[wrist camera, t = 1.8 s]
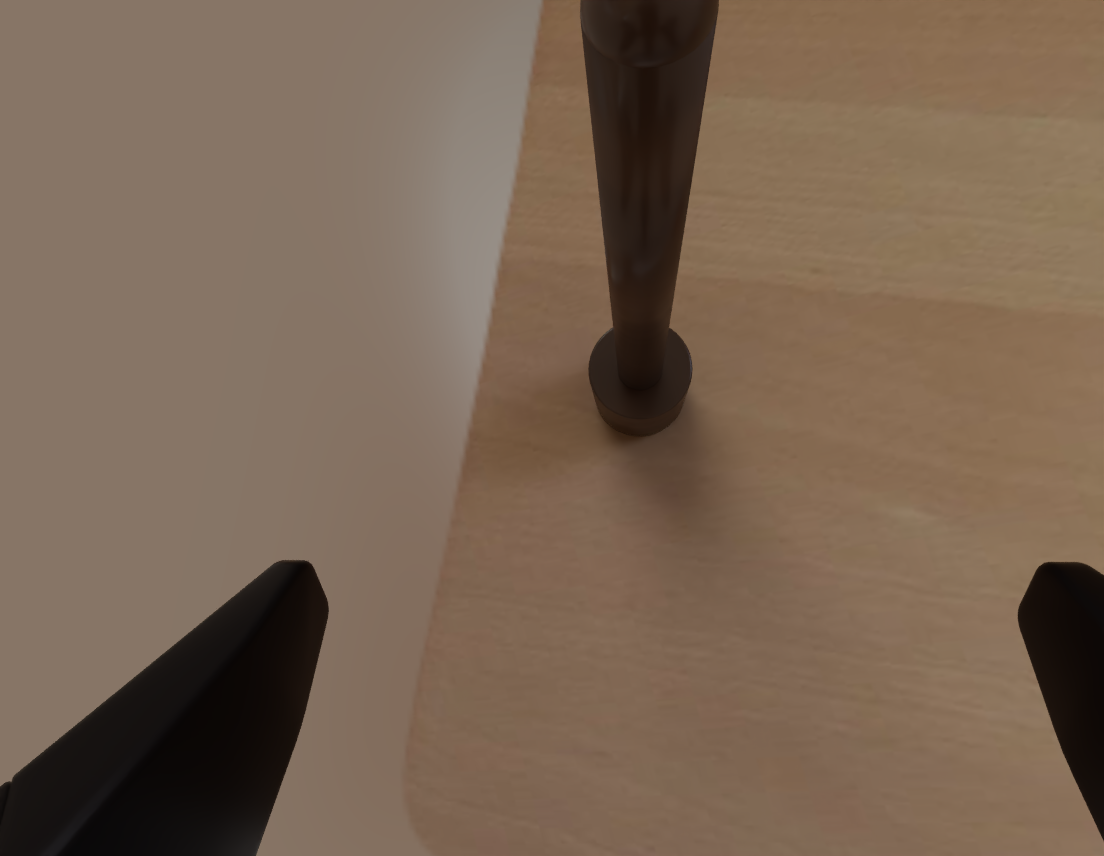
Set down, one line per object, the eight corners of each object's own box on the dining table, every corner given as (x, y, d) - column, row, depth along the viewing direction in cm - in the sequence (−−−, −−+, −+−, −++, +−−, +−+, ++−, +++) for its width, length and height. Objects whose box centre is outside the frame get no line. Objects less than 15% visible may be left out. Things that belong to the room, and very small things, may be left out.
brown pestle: (690, 430, 21) (866, 75, 5) (599, 441, 21) (488, 135, 5) (678, 344, 21) (804, -236, 5) (590, 355, 22) (464, -163, 6)
